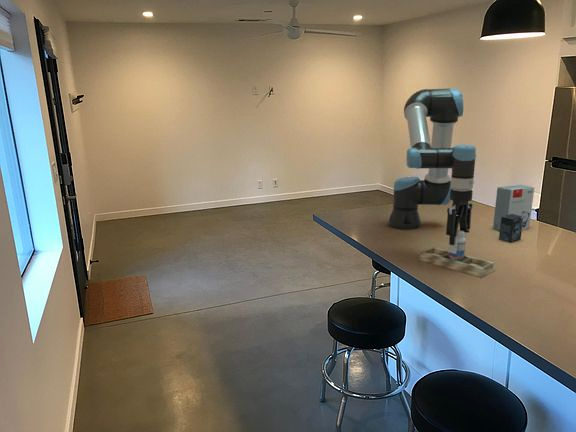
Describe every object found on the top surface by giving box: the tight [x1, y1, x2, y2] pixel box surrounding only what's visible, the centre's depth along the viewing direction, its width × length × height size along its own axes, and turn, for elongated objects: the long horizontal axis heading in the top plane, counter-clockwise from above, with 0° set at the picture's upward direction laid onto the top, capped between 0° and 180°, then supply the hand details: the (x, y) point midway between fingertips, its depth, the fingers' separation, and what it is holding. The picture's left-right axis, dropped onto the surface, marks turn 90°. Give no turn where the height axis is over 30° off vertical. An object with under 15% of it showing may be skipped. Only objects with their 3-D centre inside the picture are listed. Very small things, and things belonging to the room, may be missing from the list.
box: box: [498, 214, 523, 243], centre depth 202 cm, size 8×6×11 cm
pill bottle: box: [449, 229, 467, 259], centre depth 172 cm, size 6×5×10 cm
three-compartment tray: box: [418, 246, 496, 278], centre depth 174 cm, size 25×10×3 cm, turn 41°
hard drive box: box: [492, 184, 535, 232], centre depth 216 cm, size 16×8×20 cm, turn 114°
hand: (456, 250), depth 173 cm, fingers closed on pill bottle, 5 cm apart
